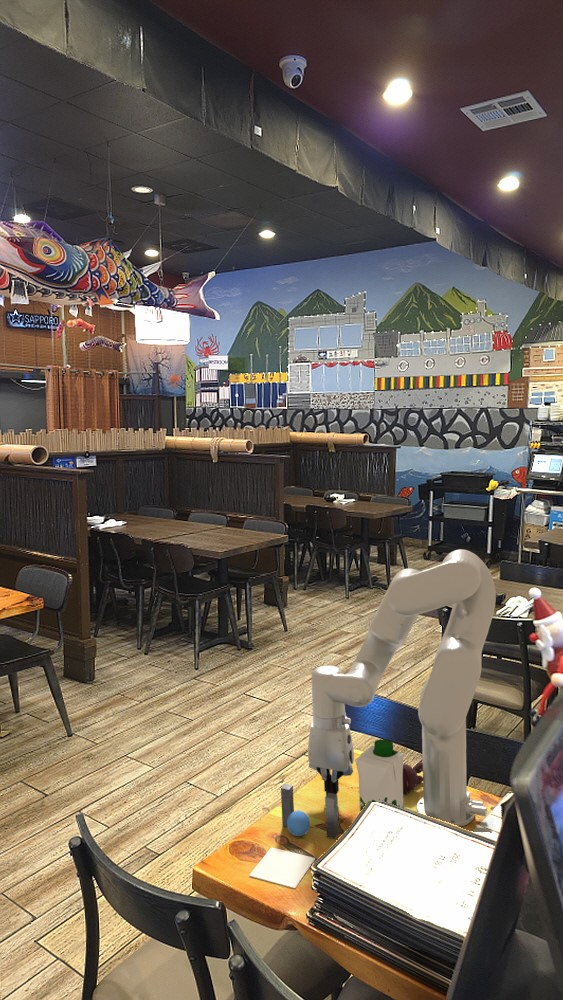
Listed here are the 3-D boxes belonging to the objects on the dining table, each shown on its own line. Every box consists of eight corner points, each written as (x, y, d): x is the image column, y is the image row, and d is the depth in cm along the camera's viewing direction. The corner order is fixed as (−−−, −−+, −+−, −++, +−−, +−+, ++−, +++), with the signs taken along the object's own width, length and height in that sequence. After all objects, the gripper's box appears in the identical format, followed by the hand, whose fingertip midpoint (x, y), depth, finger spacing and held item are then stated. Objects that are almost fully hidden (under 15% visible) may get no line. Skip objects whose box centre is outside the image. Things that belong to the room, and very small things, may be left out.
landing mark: (315, 859, 142) (315, 858, 142) (295, 888, 133) (295, 887, 133) (271, 848, 146) (271, 847, 146) (249, 876, 138) (248, 875, 138)
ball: (315, 816, 153) (306, 808, 150) (310, 840, 150) (301, 833, 147) (295, 813, 155) (286, 806, 152) (290, 837, 152) (280, 830, 149)
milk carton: (409, 832, 150) (407, 743, 148) (390, 854, 143) (387, 760, 141) (373, 820, 155) (370, 734, 153) (353, 841, 148) (350, 750, 146)
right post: (338, 834, 151) (337, 794, 150) (335, 839, 149) (333, 799, 148) (330, 832, 151) (328, 792, 151) (326, 837, 150) (325, 797, 149)
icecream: (391, 783, 159) (438, 769, 167) (371, 763, 164) (417, 751, 173) (384, 808, 160) (431, 793, 169) (365, 788, 166) (411, 774, 175)
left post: (294, 823, 155) (292, 785, 154) (290, 828, 153) (289, 789, 152) (286, 822, 156) (284, 783, 155) (282, 826, 154) (280, 788, 153)
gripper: (364, 718, 162) (367, 793, 164) (306, 709, 169) (308, 781, 170) (354, 731, 155) (356, 809, 157) (293, 721, 162) (296, 796, 164)
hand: (331, 794), depth 164 cm, fingers closed
